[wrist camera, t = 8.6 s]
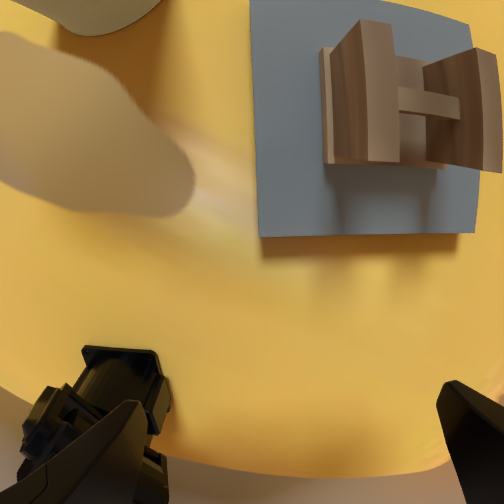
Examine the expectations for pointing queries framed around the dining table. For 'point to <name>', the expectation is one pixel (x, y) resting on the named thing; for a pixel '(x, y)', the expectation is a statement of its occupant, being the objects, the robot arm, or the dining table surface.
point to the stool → (408, 105)
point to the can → (91, 13)
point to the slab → (310, 128)
